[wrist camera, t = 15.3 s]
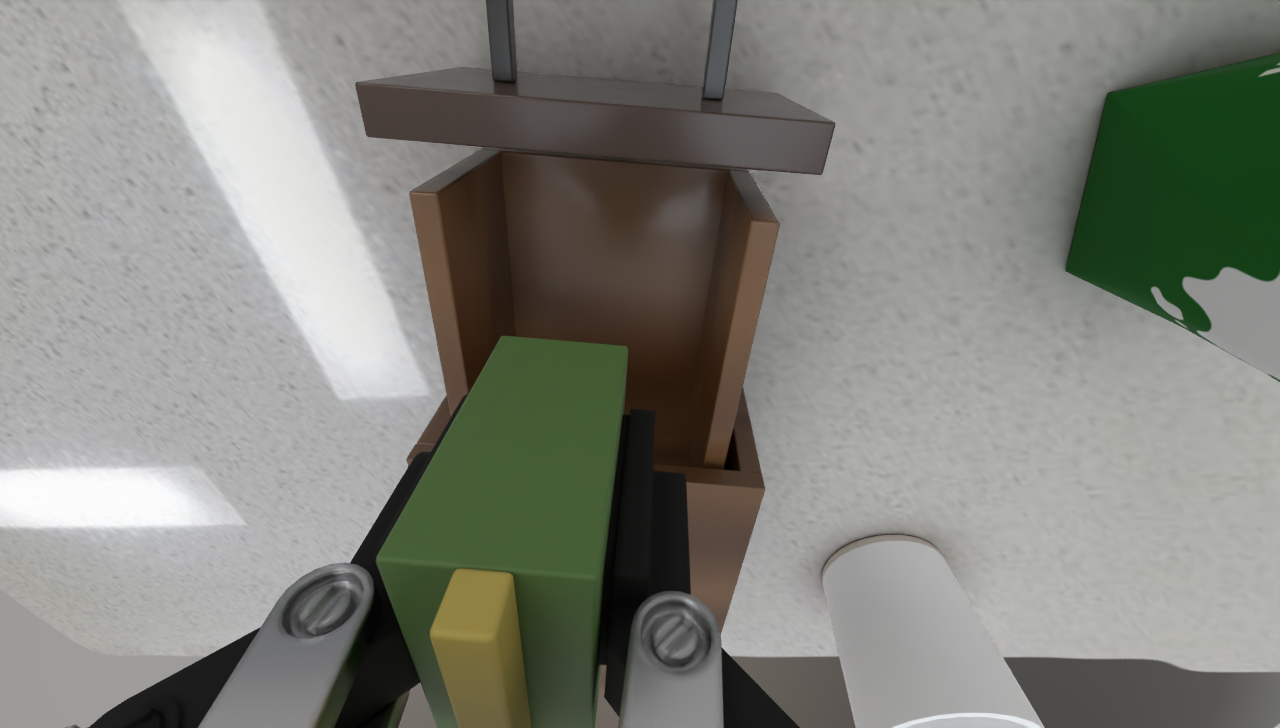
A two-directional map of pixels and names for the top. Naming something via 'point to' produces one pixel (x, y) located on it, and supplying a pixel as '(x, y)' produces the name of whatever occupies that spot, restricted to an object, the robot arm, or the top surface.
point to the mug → (916, 642)
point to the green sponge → (514, 540)
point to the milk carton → (1191, 206)
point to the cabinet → (696, 511)
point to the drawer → (603, 221)
